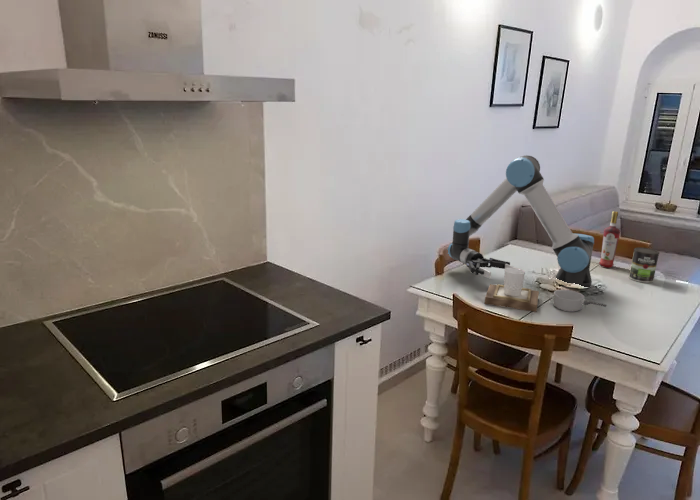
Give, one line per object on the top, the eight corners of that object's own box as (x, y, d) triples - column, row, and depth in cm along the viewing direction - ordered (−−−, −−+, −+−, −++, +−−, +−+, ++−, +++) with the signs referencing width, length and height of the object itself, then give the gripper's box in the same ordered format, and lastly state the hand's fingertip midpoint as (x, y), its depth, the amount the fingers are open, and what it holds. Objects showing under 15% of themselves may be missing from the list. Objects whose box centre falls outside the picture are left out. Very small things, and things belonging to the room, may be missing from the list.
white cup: (524, 297, 207) (527, 274, 204) (505, 296, 207) (507, 273, 205) (519, 290, 215) (521, 267, 212) (500, 289, 215) (502, 267, 212)
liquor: (597, 266, 257) (606, 212, 249) (598, 263, 263) (607, 209, 254) (613, 269, 253) (623, 214, 245) (614, 265, 259) (624, 211, 251)
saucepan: (598, 322, 193) (600, 309, 191) (546, 307, 207) (548, 294, 205) (609, 314, 201) (611, 301, 199) (559, 299, 214) (561, 287, 213)
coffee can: (655, 284, 234) (661, 254, 230) (630, 281, 238) (635, 252, 234) (651, 277, 243) (657, 248, 239) (627, 274, 247) (632, 246, 243)
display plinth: (538, 297, 216) (539, 289, 215) (536, 311, 201) (537, 302, 200) (489, 290, 223) (490, 282, 222) (484, 303, 208) (485, 295, 207)
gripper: (493, 263, 240) (525, 278, 221) (448, 269, 230) (477, 285, 212) (494, 248, 238) (527, 261, 219) (449, 253, 228) (479, 268, 209)
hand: (503, 273), depth 215 cm, fingers open, 13 cm apart
